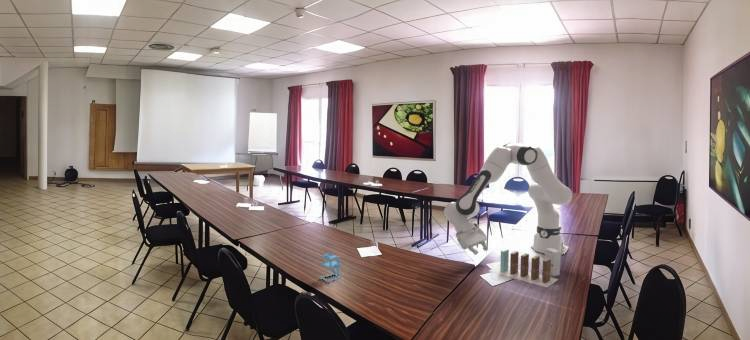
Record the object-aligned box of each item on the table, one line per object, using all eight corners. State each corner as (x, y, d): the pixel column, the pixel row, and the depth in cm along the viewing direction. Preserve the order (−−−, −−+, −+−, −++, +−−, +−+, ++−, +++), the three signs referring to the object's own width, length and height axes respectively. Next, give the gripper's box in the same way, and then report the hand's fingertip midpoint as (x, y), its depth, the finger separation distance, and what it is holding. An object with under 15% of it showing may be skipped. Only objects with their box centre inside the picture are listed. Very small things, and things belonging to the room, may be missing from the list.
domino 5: (542, 282, 165) (542, 260, 164) (546, 279, 169) (547, 258, 168) (545, 283, 164) (546, 261, 163) (550, 280, 168) (550, 258, 167)
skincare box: (543, 272, 178) (544, 248, 177) (550, 271, 180) (551, 247, 179) (552, 277, 173) (553, 252, 172) (560, 276, 174) (561, 251, 173)
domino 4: (530, 279, 169) (531, 258, 168) (535, 276, 172) (536, 255, 171) (534, 280, 168) (535, 258, 167) (539, 277, 171) (539, 256, 170)
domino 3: (520, 276, 172) (520, 255, 172) (525, 273, 176) (525, 253, 175) (523, 277, 171) (524, 256, 170) (528, 274, 175) (528, 254, 174)
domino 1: (500, 271, 180) (500, 250, 179) (505, 268, 183) (505, 248, 182) (503, 271, 179) (503, 251, 178) (508, 269, 182) (508, 249, 181)
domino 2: (510, 273, 176) (510, 253, 175) (514, 271, 180) (515, 250, 179) (513, 274, 175) (513, 254, 174) (518, 271, 178) (518, 251, 177)
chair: (343, 278, 174) (343, 253, 173) (330, 283, 168) (329, 257, 167) (332, 274, 179) (332, 249, 178) (319, 278, 173) (319, 253, 172)
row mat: (501, 265, 189) (501, 264, 189) (558, 280, 169) (558, 279, 169) (488, 272, 180) (488, 270, 180) (547, 288, 160) (547, 287, 160)
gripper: (458, 229, 186) (474, 253, 180) (479, 223, 200) (495, 244, 194) (450, 236, 190) (466, 259, 184) (472, 229, 204) (487, 251, 198)
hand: (481, 251), depth 189 cm, fingers open, 8 cm apart
